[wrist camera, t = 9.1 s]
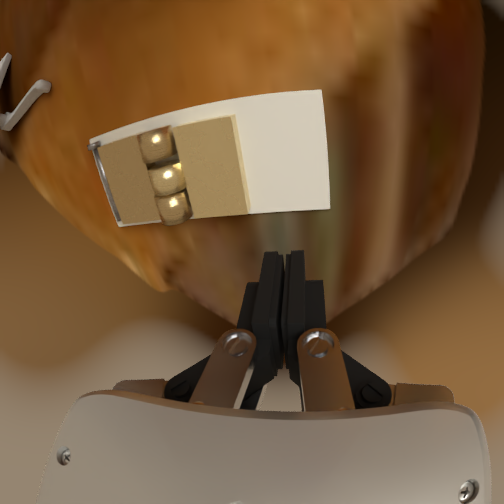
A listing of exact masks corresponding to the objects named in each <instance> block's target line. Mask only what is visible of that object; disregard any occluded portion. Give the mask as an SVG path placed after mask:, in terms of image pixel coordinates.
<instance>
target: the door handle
mask: <svg viewBox="0 0 504 504" xmlns="http://www.w3.org/2000/svg"><path fill="white" fill-rule="evenodd" d="M10 60H11V55H10V54H9V53H7V54H6V55H5V56H4V58H3V59H2V60H1V61H0V88H1V85H2V82H3V79H4V76H5V73H6V71H7V68H8V65H9V63H10ZM50 88H51V83H50V82H48V81H45V80H38V81H37V82H36V83H35V84H34V85H33V86H32V87H31V89H30V90H29V91H28V92H27V94H26V95H25V96H24V98H23V99H22V100H21V102H20V103H19V105H18V106H17V107H16V109H15V110H14V111H13V112H12V113H9V112H6V113H5V114H1V113H0V129H2V130H7V131H10V130H11V129H12V128H13V127H14V125H15V124H16V123H17V122H18V121H19V120H20V118H21V117H22V116H23V115H24V114H25V112H26V111H27V110H28V108H29V107H30V106H31V105H32V104H33V102H34V101H35V100H36V99H37V98H38V97H39V96H40V95H41V94H42V93H44V92H45V93H48V92H49V91H50Z"/></svg>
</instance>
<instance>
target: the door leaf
mask: <svg viewBox="0 0 504 504" xmlns="http://www.w3.org/2000/svg"><path fill="white" fill-rule="evenodd" d="M172 130H173V134H174V138H175V143H176V147H177V151H178V155H179V159H175V160H170V161H166V162H163V163H160V164H157V165H155V166H153V167H151V168H150V169H149V170H148V172H149V176H150V179H151V183H152V186H153V190H154V193H155V195H156V196H166V195H170V194H173V193H176V192H179V191H181V190H183V189H184V188H186V187H187V191H188V195H189V199H190V203H191V206H192V210H193V214H194V218H206V217H218V216H231V215H244V214H248V213H249V210H250V207H251V203H250V197H249V191H248V185H247V179H246V173H245V168H244V162H243V156H242V150H241V144H240V138H239V133H238V127H237V121H236V115H235V114H232V115H226V116H220V117H214V118H209V119H203V120H198V121H194V122H189V123H184V124H180V125H178V126H175V127H173V128H172Z"/></svg>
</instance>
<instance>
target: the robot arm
mask: <svg viewBox="0 0 504 504" xmlns="http://www.w3.org/2000/svg"><path fill="white" fill-rule="evenodd" d="M284 354H285V361H286V369H289V373H290V379H291V380H292V381H293V382H294V383H295V384H297V385H298V386H299V394H300V402H301V411H302V412H280V411H279V412H278V411H259V410H260V407H261V403H262V400H263V397H264V394H265V391H266V387H267V383H268V382H269V381H271V380H272V379H274V376H277V372H278V369H282V368H283V359H284ZM36 504H491V466H490V458H489V451H488V445H487V440H486V436H485V432H484V429H483V426H482V423H481V421H480V419H479V417H478V416H477V414H476V413H475V412H474V411H473V410H471V409H470V408H468V407H465V406H463V405H459V404H455V403H454V396H453V393H452V391H451V390H450V389H449V388H447V387H446V386H442V385H424V384H407V383H397V384H396V385H391V384H388V383H386V382H385V381H384V380H383V379H381V378H380V377H379V376H377V375H376V374H374V373H373V372H371V371H370V370H368V369H367V368H366V367H364V366H363V365H361V364H360V363H358V362H357V361H356V360H354V359H353V358H352V357H350V356H349V355H347V354H346V353H344V352H343V351H342V350H341V349H340V345H339V341H338V339H337V337H336V335H335V334H334V333H332V332H331V331H329V330H327V329H326V315H325V301H324V288H323V280H309V281H305V261H304V250H297V251H291V254H286V266H285V270H284V261H283V255H278V252H277V251H275V252H265V253H264V258H263V263H262V269H261V274H260V280H259V282H248V283H247V286H246V290H245V294H244V298H243V303H242V307H241V311H240V315H239V320H238V324H237V328H236V329H233V330H229V331H227V332H225V333H224V334H223V335H222V336H221V337H220V338H219V340H218V341H217V344H216V346H215V348H214V350H213V352H212V354H211V355H209V356H208V357H206V358H204V359H203V360H201V361H199V362H198V363H196V364H195V365H193V366H192V367H190V368H188V369H186V370H184V371H183V372H181V373H179V374H178V375H176V376H174V377H173V378H172V379H170V380H169V381H165V380H164V379H149V380H123V381H120V382H118V383H117V384H116V385H115V386H114V387H113V389H112V390H98V391H93V392H89V393H86V394H84V395H82V396H80V397H79V398H78V399H77V400H76V401H75V402H74V403H73V405H72V406H71V408H70V409H69V411H68V413H67V415H66V417H65V419H64V420H63V422H62V425H61V427H60V429H59V431H58V434H57V436H56V438H55V441H54V443H53V446H52V449H51V452H50V454H49V458H48V460H47V463H46V467H45V469H44V473H43V476H42V480H41V484H40V488H39V492H38V495H37V500H36Z"/></svg>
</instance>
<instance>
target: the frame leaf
mask: <svg viewBox="0 0 504 504" xmlns="http://www.w3.org/2000/svg"><path fill="white" fill-rule="evenodd" d="M97 149H98V152H99V156H100V159H101V162H102V166H103V169H104V172H105V175H106V178H107V181H108V184H109V187H110V190H111V193H112V196H113V199H114V201H115V204H116V207H117V210H118V212H119V215H120V218H121V220H122V223H123V224H130V223H138V222H146V221H155V220H161V222H162V224H163V225H167V226H171V225H177V224H180V223H183V222H185V221H187V220H188V219H190V218H191V217H192V216H193V210H192V206H191V203H190V199H189V195H188V191H187V187H186V188H184V189H183V190H181V191H179V192H176V193H173V194H170V195H166V196H156V195H155V193H154V190H153V186H152V183H151V179H150V176H149V172H148V170H149V169H150V168H151V167H153V166H155V165H156V163H155V162H156V161H160V160H163V159H166V158H168V157H171V156H173V155H175V154H177V153H178V152H177V147H176V143H175V139H174V135H173V131H172V126H171V125H165V126H161V127H158V128H154V129H151V130H148V131H143V132H140V133H137V134H133V135H130V136H127V137H124V138H121V139H118V140H115V141H112V142H109V143H106V144H104V145H102V146H100V147H98V148H97Z"/></svg>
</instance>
